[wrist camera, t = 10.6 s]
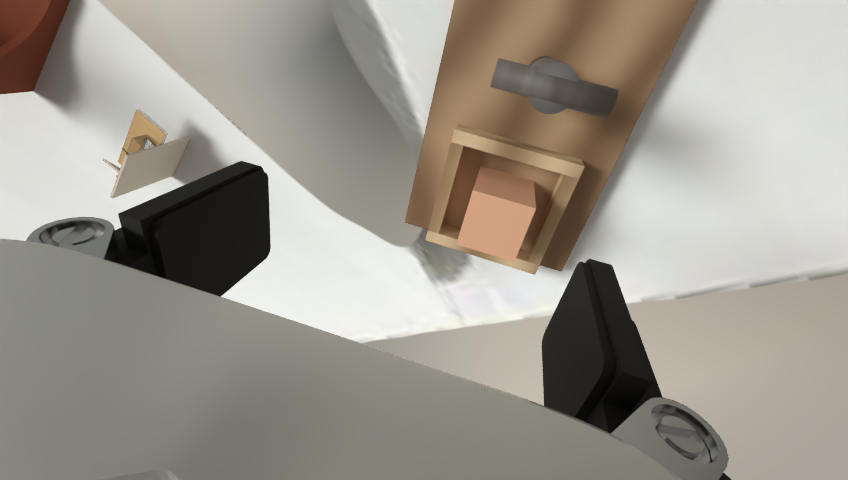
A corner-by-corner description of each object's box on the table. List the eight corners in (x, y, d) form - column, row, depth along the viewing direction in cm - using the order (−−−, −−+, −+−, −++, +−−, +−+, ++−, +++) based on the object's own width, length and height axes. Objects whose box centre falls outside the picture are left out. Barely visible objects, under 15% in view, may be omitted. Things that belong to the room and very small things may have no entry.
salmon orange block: (533, 180, 31) (536, 208, 26) (515, 227, 33) (514, 262, 28) (480, 165, 31) (472, 190, 26) (466, 213, 33) (456, 244, 28)
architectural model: (149, 153, 40) (79, 174, 34) (169, 104, 37) (95, 116, 31) (175, 175, 41) (111, 199, 35) (197, 128, 38) (131, 145, 31)
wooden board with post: (715, -50, 23) (863, -121, 13) (559, 264, 35) (575, 352, 25) (481, -104, 24) (453, -205, 14) (408, 217, 36) (365, 282, 26)
